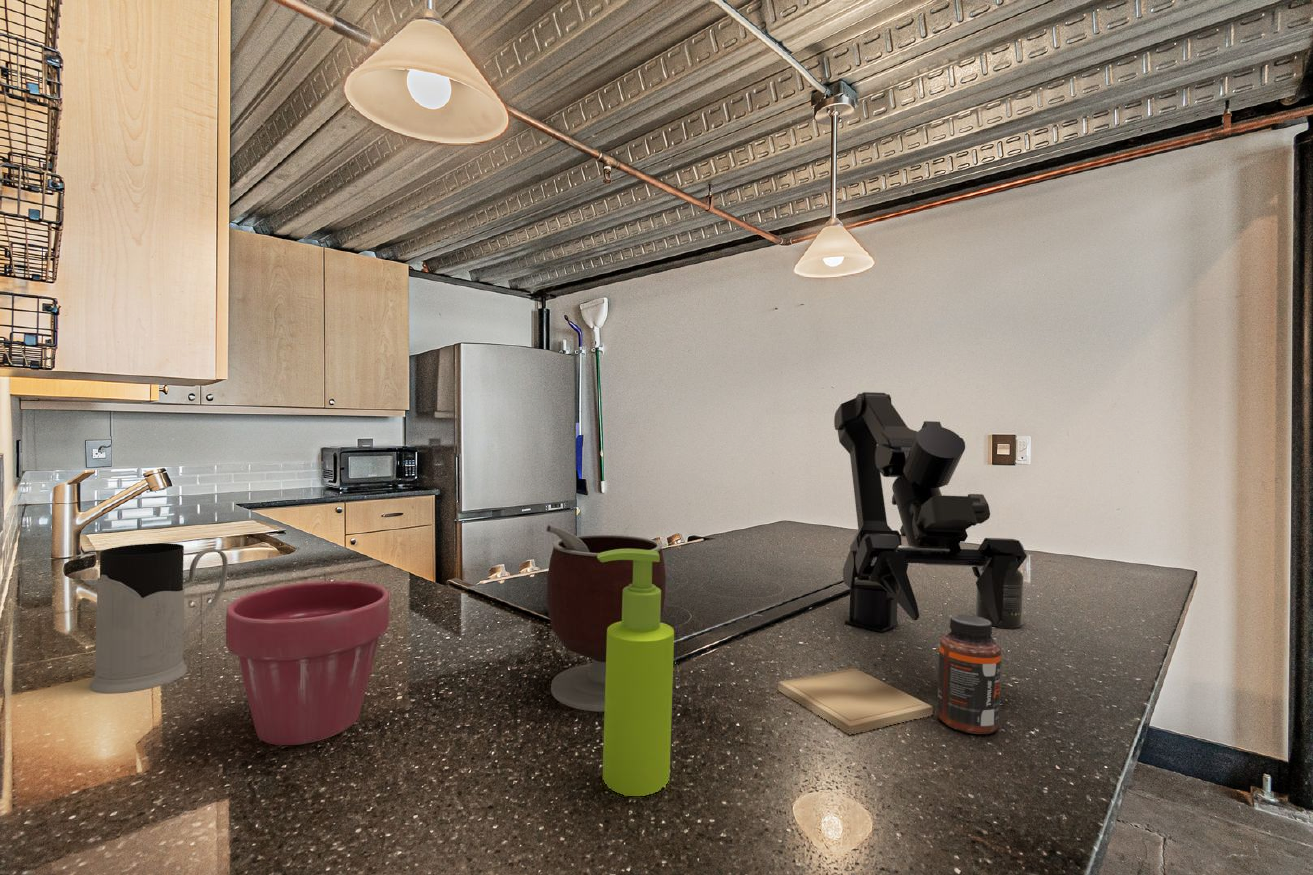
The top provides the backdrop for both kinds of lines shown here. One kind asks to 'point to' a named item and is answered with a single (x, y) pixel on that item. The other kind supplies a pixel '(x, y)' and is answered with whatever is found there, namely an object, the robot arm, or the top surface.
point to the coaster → (854, 700)
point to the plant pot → (306, 655)
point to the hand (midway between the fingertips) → (957, 620)
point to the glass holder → (143, 616)
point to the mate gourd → (590, 606)
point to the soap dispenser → (638, 685)
